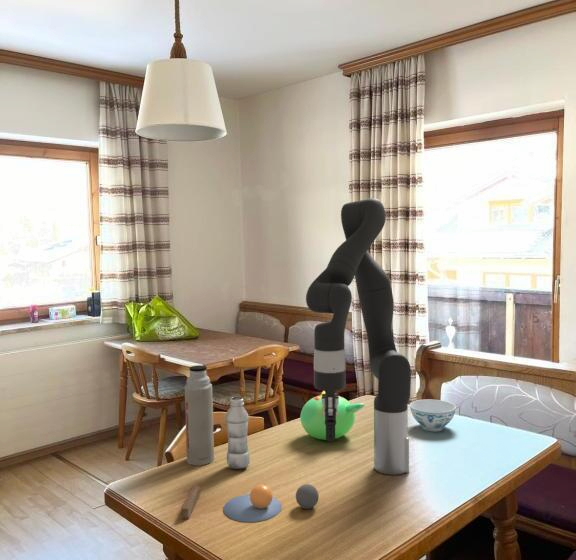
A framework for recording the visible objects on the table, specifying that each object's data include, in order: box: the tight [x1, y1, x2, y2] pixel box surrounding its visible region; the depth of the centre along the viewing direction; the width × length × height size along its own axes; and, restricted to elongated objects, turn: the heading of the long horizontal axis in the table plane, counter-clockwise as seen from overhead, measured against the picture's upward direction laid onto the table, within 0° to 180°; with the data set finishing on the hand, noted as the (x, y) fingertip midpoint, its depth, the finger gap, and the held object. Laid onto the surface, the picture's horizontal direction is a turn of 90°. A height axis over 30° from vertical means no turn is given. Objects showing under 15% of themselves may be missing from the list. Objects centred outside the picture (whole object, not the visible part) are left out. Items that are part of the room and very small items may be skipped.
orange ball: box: [249, 483, 274, 509], centre depth 137 cm, size 6×6×6 cm
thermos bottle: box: [184, 364, 215, 466], centre depth 166 cm, size 8×8×28 cm
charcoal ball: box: [295, 483, 319, 510], centre depth 137 cm, size 6×6×6 cm
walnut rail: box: [181, 485, 201, 520], centre depth 138 cm, size 2×12×2 cm, turn 177°
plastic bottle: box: [225, 396, 251, 470], centre depth 161 cm, size 6×7×20 cm
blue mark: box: [223, 493, 282, 523], centre depth 137 cm, size 14×14×1 cm
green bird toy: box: [299, 390, 365, 441], centre depth 183 cm, size 18×17×15 cm
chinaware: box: [409, 398, 457, 432], centre depth 191 cm, size 15×15×8 cm
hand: (330, 439), depth 135 cm, fingers closed
